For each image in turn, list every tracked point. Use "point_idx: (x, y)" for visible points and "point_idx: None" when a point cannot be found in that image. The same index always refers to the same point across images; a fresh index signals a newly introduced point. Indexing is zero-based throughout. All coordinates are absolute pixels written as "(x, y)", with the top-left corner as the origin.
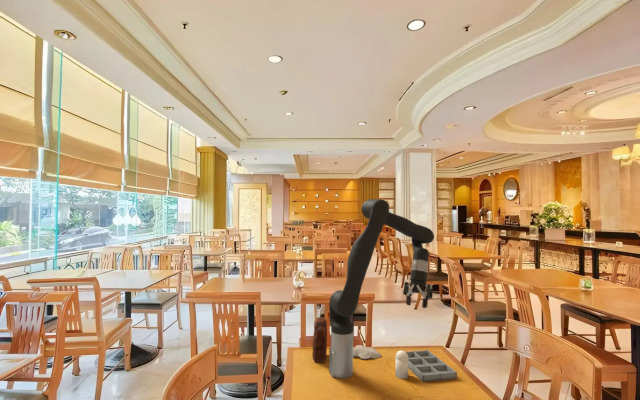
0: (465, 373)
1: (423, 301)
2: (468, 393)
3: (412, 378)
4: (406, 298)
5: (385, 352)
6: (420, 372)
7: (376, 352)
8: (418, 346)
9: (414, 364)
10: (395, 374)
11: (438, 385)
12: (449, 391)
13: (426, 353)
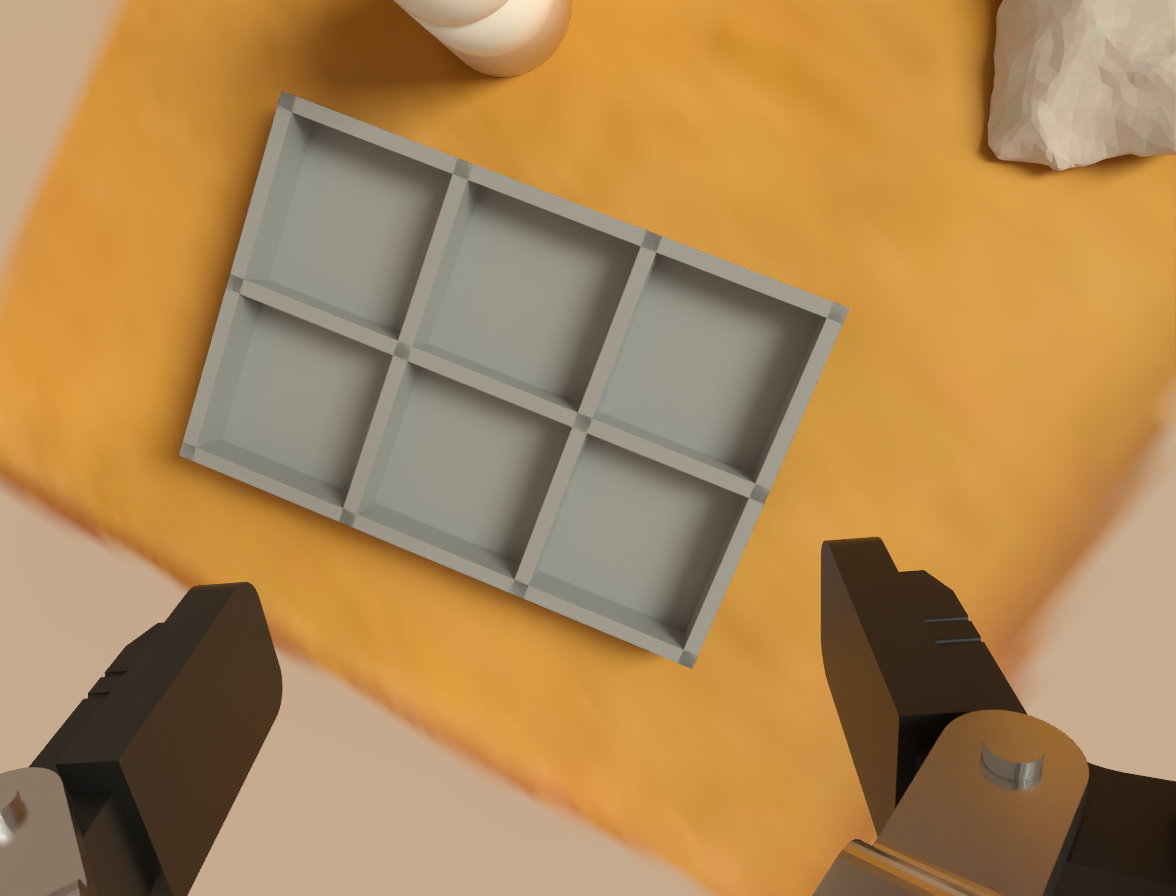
0: None
1: (124, 695)
2: (8, 302)
3: (410, 65)
4: (999, 683)
5: (1052, 286)
6: (335, 116)
7: (1049, 82)
8: None
9: (595, 311)
10: None
11: (203, 186)
12: (92, 184)
13: (689, 626)
